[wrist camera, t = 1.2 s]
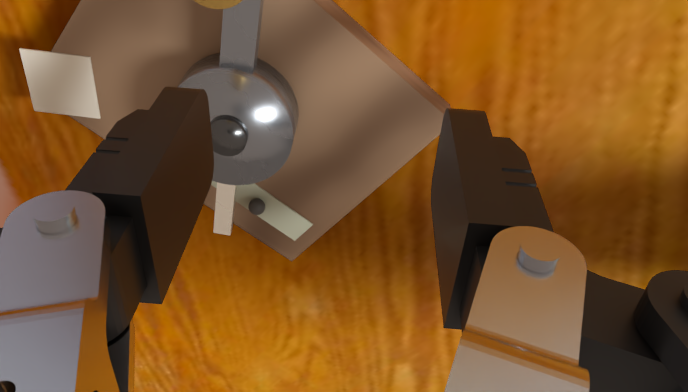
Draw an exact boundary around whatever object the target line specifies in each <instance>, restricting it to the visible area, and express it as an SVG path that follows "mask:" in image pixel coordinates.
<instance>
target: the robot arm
mask: <svg viewBox="0 0 688 392" xmlns="http://www.w3.org/2000/svg"><path fill="white" fill-rule="evenodd" d="M531 171H532V170H531V167H530V164H529V162H528V159H527V156H526V153H525V152H524V151H522V150H521V149H520V148H519V147H518V146H517V145H516V144H515V143H514V142H513V141H512V140H511V139H510V138H502V137H492V133H491V130H490V126H489V123H488V119H487V116H486V113H485V111H477V110H464V109H451V108H447V109H446V110H445V113H444V116H443V121H442V127H441V132H440V138H439V144H438V149H437V155H436V161H435V166H434V172H433V178H432V188H431V208H432V217H433V227H434V237H435V247H436V257H437V266H438V276H439V286H440V296H441V306H442V315H443V325H444V328H450V329H462V336H461V339H460V343H459V346H458V349H457V352H456V356H455V359H454V362H453V365H452V369H451V372H450V375H449V378H448V382H447V385H446V388H445V391H444V392H688V271H680V270H671V271H665V272H661V273H659V274H657V275H655V276H654V277H652V279H651V280H650V281H649V283H648V285H647V287H646V289H645V290H644V289H641V288H637V287H634V286H631V285H628V284H624V283H621V282H618V281H614V280H611V279H608V278H605V277H602V276H599V275H597V274H595V273H593V272H590V271H589V270H587V265H586V261H585V259H584V257H583V255H582V253H581V252H580V251H579V250H578V249H577V248H576V247H575V246H574V245H573V244H572V243H571V242H569V241H568V240H567V239H565V238H564V237H562V236H560V235H558V234H556V233H554V231H553V229H552V226H551V223H550V220H549V217H548V215H547V212H546V209H545V206H544V204H543V201H542V198H541V195H540V192H539V190H538V188H536V181H535V178H534V176H533V174H532V173H531ZM213 172H214V153H213V143H212V133H211V122H210V112H209V102H208V96H207V93H206V91H205V90H204V89H193V88H180V87H165V88H164V89H163V90H162V91H161V93H160V94H159V96H158V97H157V99H156V100H155V102H154V103H153V104H152V106H151V107H150V109H149V110H143V109H137V110H135V111H134V112H132V113H130V114H129V115H127V116H125V117H124V118H122V119H120V120H119V121H117V122H116V124H115V125H114V126H113V128H112V129H111V130H110V132H109V133H108V134H107V135H106V140H103V141H102V142H101V143H100V145H99V146H98V147H97V149H96V153H93V154H92V155H91V157H90V158H89V159H88V161H87V162H86V163H85V165H84V166H83V167H82V169H81V170H80V171H79V173H78V174H77V175H76V177H75V178H74V179H73V181H72V182H71V183H70V185H69V186H68V187H67V188H66V190H65V191H57V192H51V193H47V194H43V195H40V196H37V197H35V198H32V199H30V200H28V201H26V202H25V203H23V204H21V205H20V206H18V207H17V208H16V209H15V210H14V211H13V212H12V213H10V215H9V216H8V218H7V219H6V221H5V224H4V227H3V228H0V392H134V368H135V327H134V323H133V319H132V318H133V315H134V313H135V311H136V309H137V307H138V304H139V302H142V303H154V304H162V302H163V300H164V297H165V295H166V293H167V290H168V288H169V285H170V283H171V281H172V278H173V276H174V273H175V271H176V269H177V266H178V264H179V261H180V259H181V257H182V254H183V252H184V249H185V247H186V245H187V242H188V240H189V237H190V235H191V233H192V230H193V228H194V225H195V223H196V221H197V218H198V216H199V213H200V211H201V209H202V206H203V204H204V201H205V199H206V197H207V194H208V192H209V189H210V187H211V183H212V179H213Z"/></svg>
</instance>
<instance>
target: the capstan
mask: <svg viewBox="0 0 688 392" xmlns="http://www.w3.org/2000/svg"><path fill="white" fill-rule="evenodd" d="M194 1H195V2H197V3H198V4H200V5H202V6H205V7H208V8H211V9H223V19H222V33H221V48H220V53H217V54H213V55H210V56H207V57H205V58H203V59H201V60H199V61H197V62H196V63H195V64H194V65H193V66H191V67H190V69H189V70H188V71H187V72H186V74H185V75H184V77H183V78H182V80H181V81H180V83H179V84H178V86H177V87H180V88H193V89H204V90H205V91H206V93H207V96H208V102H209V112H210V122H211V133H212V143H213V153H214V172H213V179H212V181H215V182H217V191H216V204H215V217H214V230H213V233H218V234H223V235H229V236H230V235H231V232H232V229H233V220H234V210H235V201H236V191H237V185H249V184H254V183H257V182H260V181H263V180H265V179H267V178H269V177H271V176H272V175H274V174H275V173H276V172H277V171H279V170H280V169H281V167H282V166H283V165H284V164H285V162H286V161H287V159H288V157H289V155H290V152H291V148H292V144H293V140H294V136H295V132H296V128H297V124H298V117H299V111H298V104H297V99H296V97H295V94H294V92H293V90H292V88H291V86H290V84H289V83H288V82H287V80H286V79H285V78H284V77H283V75H282V74H281V73H280V72H279V71H277V70H276V69H275V68H274V67H273V66H271V65H270V64H268V63H267V62H265V61H263V60H261V59H259V58H258V49H259V40H260V31H261V22H262V13H263V4H264V0H194Z"/></svg>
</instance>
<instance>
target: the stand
mask: <svg viewBox="0 0 688 392" xmlns="http://www.w3.org/2000/svg"><path fill="white" fill-rule="evenodd" d="M222 19H223V9H211V8H208V7H205V6H202V5H200V4H198V3H197V2H195V1H194V0H81V1H80V3H79V4H78V6H77V8H76V10H75V11H74V13H73V15H72V16H71V18H70V20H69V21H68V23H67V25H66V27H65V28H64V30H63V32H62V33H61V35H60V37H59V39H58V40H57V42H56V44H55V45H54V47H53V49H52V50H51V52H49V51H41V50H33V49H25V48H19V51H20V55H21V59H22V63H23V67H24V71H25V75H26V79H27V83H28V87H29V91H30V96H31V100H32V104H33V108H34V111H40V112H48V113H56V114H64V115H68V116H70V117H71V118H73V119H74V120H76V121H78V122H79V123H81V124H82V125H84V126H85V127H87V128H88V129H90V130H91V131H93V132H94V133H96V134H97V135H99V136H101V137H102V138H104V139H105V140H106V135H107V134H108V133H109V132H110V130H111V129H112V128H113V126H114V125H115V124H116V122H117V121H119V120H120V119H122V118H124V117H125V116H127V115H129V114H130V113H132V112H134V111H135V110H137V109H143V110H149V109H150V107H151V106H152V104H153V103H154V102H155V100H156V99H157V97H158V96H159V94H160V93H161V91H162V90H163V89H164V88H165V87H177V86H178V84H179V83H180V81H181V80H182V78H183V77H184V75H185V74H186V72H187V71H188V70H189V69H190V67H191V66H193V65H194V64H195V63H196V62H197V61H199V60H201V59H203V58H205V57H207V56H210V55H213V54H217V53H220V48H221V33H222ZM258 58H259V59H261V60H263V61H265V62H267V63H268V64H270V65H271V66H273V67H274V68H275V69H276V70H277V71H279V72H280V73H281V74H282V75H283V77H284V78H285V79H286V80H287V82H288V83H289V84H290V86H291V88H292V90H293V92H294V94H295V97H296V99H297V104H298V111H299V117H298V124H297V128H296V132H295V136H294V140H293V144H292V148H291V152H290V155H289V157H288V159H287V161H286V162H285V164H284V165H283V166H282V167H281V169H280V170H279V171H277V172H276V173H275V174H274V175H272V176H271V177H269V178H267V179H265V180H263V181H260V182H257V183H254V184H249V185H237V191H236V201H235V210H234V220H233V223H234V224H235V225H237V226H238V227H240V228H241V229H243V230H244V231H246V232H248V233H249V234H251V235H252V236H254V237H255V238H257V239H258V240H260V241H261V242H263V243H264V244H266V245H267V246H269V247H271V248H272V249H274V250H275V251H277V252H278V253H280V254H281V255H283V256H284V257H286V258H287V259H289V260H290V261H293V260H294V259H295V258H296V257H298V256H299V255H300V254H301V253H302V252H303V251H305V250H306V249H307V248H308V247H309V246H310V245H312V244H313V243H314V242H315V241H316V240H317V239H319V238H320V237H321V236H322V235H323V234H324V233H326V232H327V231H328V230H329V229H330V228H331V227H333V226H334V225H335V224H336V223H337V222H338V221H340V220H341V219H342V218H343V217H344V216H345V215H347V214H348V213H349V212H350V211H351V210H352V209H353V208H355V207H356V206H357V205H358V204H359V203H360V202H362V201H363V200H364V199H365V198H366V197H367V196H369V195H370V194H371V193H372V192H373V191H374V190H376V189H377V188H378V187H379V186H380V185H381V184H383V183H384V182H385V181H386V180H387V179H388V178H390V177H391V176H392V175H393V174H394V173H395V172H397V171H398V170H399V169H400V168H401V167H402V166H404V165H405V164H406V163H407V162H408V161H409V160H411V159H412V158H413V157H414V156H415V155H416V154H418V153H419V152H420V151H421V150H422V149H423V148H424V147H426V146H427V145H428V144H429V143H430V142H431V141H433V140H434V139H435V138H436V137H437V136H438V135H440V132H441V127H442V121H443V116H444V113H445V110H446V109H447V108H450V105H449V104H448V103H447V102H446V101H445V100H444V99H443V98H442V97H440V96H439V95H438V94H437V93H436V92H435V91H434V90H433V89H431V88H430V87H429V86H428V85H427V84H426V83H425V82H424V81H422V80H421V79H420V78H419V77H418V76H417V75H416V74H415V73H413V72H412V71H411V70H410V69H409V68H408V67H407V66H405V65H404V64H403V63H402V62H401V61H400V60H399V59H398V58H396V57H395V56H394V55H393V54H392V53H391V52H390V51H389V50H387V49H386V48H385V47H384V46H383V45H382V44H381V43H380V42H378V41H377V40H376V39H375V38H374V37H373V36H372V35H371V34H369V33H368V32H367V31H366V30H365V29H364V28H363V27H362V26H360V25H359V24H358V23H357V22H356V21H355V20H354V19H353V18H351V17H350V16H349V15H348V14H347V13H346V12H345V11H344V10H342V9H341V8H340V7H339V6H338V5H337V4H336V3H334V2H333V1H332V0H264V4H263V13H262V22H261V31H260V40H259V49H258ZM216 191H217V182H215V181H212V183H211V187H210V189H209V192H208V194H207V197H206V199H205V201H204V204H205V205H206V206H208V207H209V208H211V209H212V210H214V211H215V204H216Z"/></svg>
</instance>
